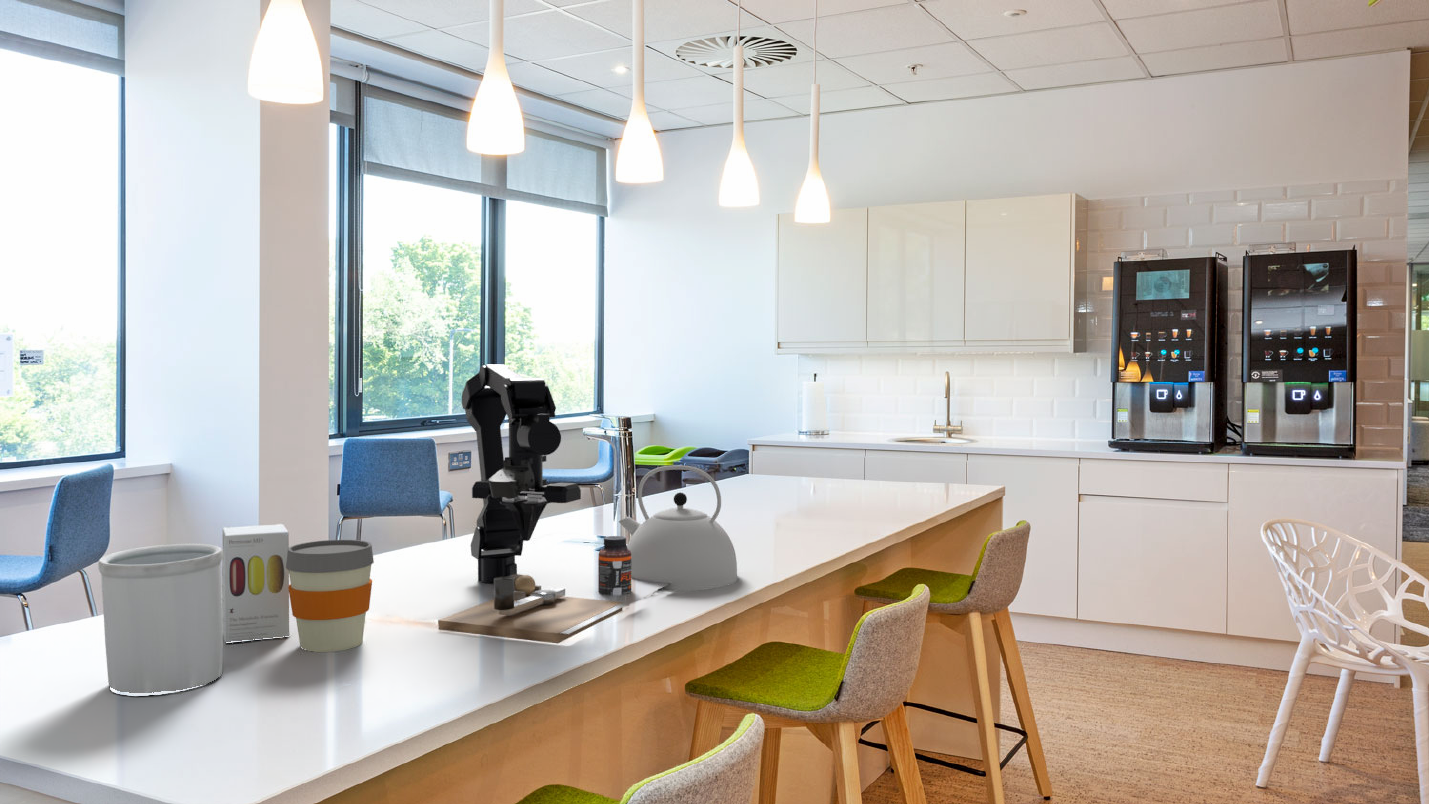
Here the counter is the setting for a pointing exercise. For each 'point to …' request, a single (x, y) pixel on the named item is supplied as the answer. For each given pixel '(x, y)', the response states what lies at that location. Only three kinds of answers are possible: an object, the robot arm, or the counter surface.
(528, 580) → the nut
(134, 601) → the utensil holder
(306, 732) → the counter surface
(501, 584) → the lever
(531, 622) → the base
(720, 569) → the kettle
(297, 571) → the reusable coffee cup
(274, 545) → the supplement box
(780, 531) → the counter surface
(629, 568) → the supplement bottle
